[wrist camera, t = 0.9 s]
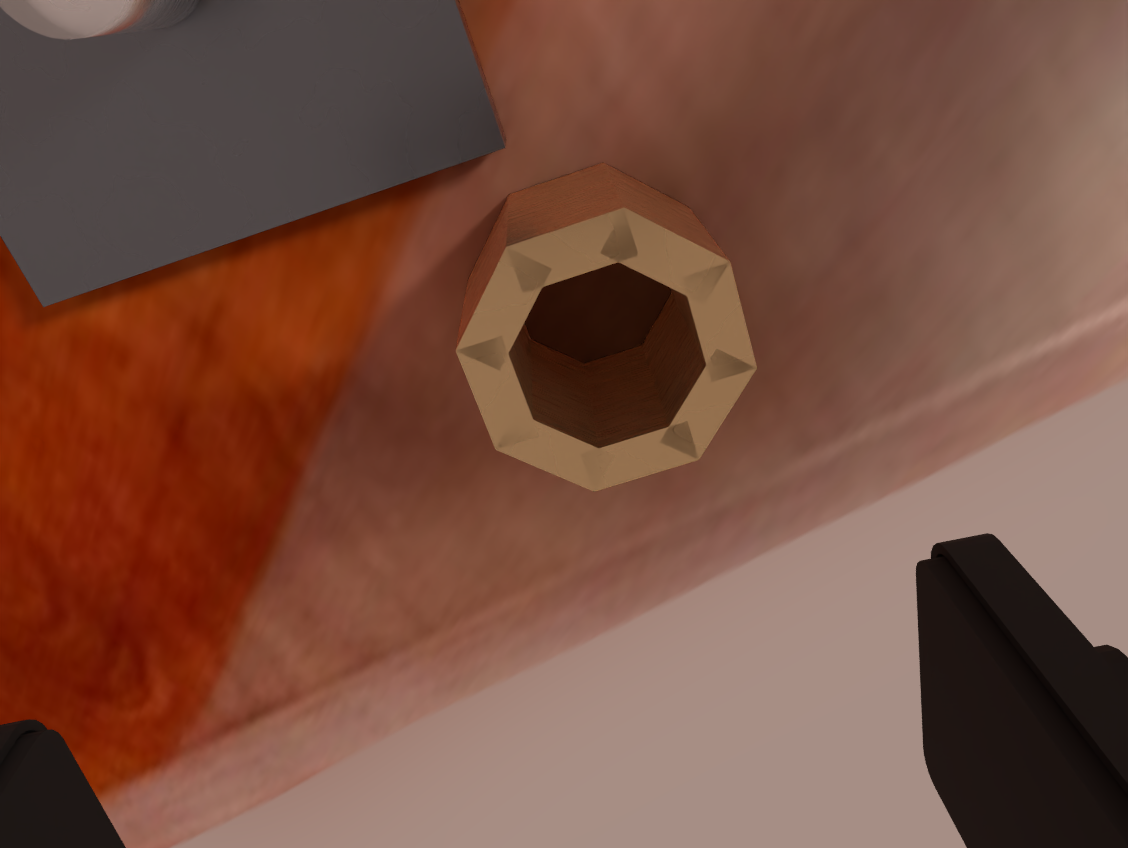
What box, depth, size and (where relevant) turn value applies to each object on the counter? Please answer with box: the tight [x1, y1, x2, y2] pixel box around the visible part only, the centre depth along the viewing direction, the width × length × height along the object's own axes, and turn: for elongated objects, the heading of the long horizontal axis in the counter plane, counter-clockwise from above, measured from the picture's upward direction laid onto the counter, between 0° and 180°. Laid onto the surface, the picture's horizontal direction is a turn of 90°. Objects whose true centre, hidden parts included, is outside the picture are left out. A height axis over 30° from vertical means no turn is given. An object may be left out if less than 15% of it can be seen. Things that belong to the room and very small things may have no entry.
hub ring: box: [456, 163, 757, 492], centre depth 26 cm, size 7×7×6 cm
